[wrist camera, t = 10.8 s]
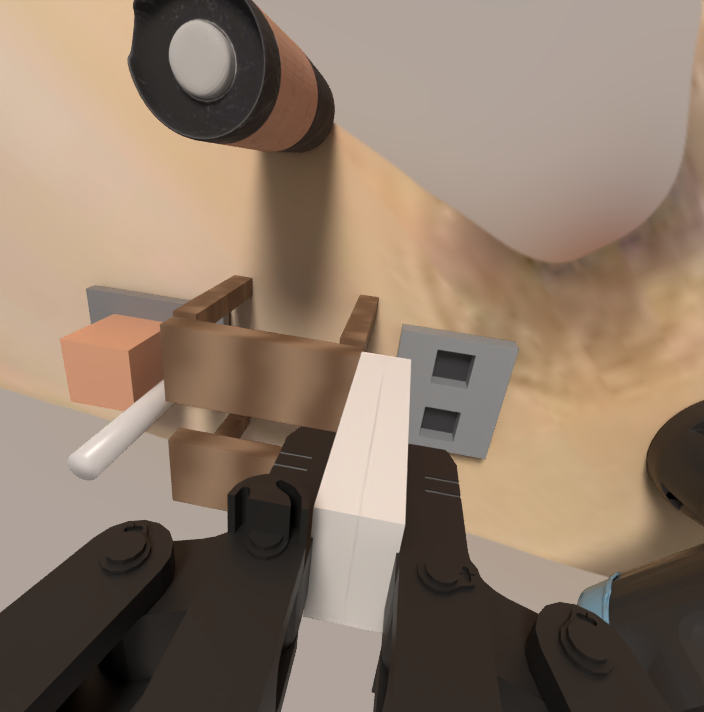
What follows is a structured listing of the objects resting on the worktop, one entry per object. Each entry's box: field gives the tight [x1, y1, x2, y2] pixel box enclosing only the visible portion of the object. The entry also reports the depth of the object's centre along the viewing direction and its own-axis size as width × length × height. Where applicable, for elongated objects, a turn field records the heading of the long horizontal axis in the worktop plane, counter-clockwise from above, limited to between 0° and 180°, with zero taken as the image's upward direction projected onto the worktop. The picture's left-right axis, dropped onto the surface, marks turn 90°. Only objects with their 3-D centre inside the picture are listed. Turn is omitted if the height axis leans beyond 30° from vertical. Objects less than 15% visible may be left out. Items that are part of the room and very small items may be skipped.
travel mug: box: [128, 0, 335, 152], centre depth 30 cm, size 8×8×20 cm
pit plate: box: [397, 324, 519, 459], centre depth 48 cm, size 12×14×2 cm
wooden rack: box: [90, 275, 379, 511], centre depth 44 cm, size 36×19×15 cm, turn 83°
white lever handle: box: [60, 285, 229, 480], centre depth 41 cm, size 16×12×21 cm
